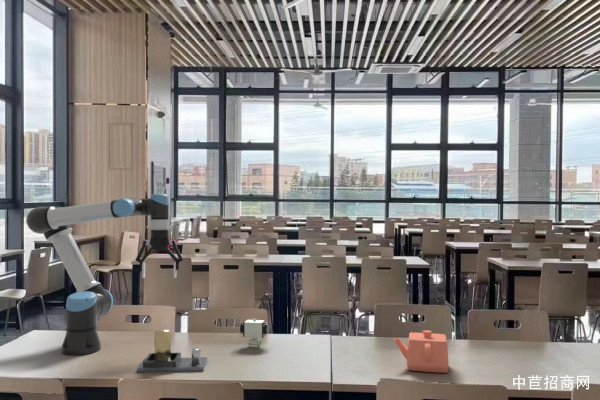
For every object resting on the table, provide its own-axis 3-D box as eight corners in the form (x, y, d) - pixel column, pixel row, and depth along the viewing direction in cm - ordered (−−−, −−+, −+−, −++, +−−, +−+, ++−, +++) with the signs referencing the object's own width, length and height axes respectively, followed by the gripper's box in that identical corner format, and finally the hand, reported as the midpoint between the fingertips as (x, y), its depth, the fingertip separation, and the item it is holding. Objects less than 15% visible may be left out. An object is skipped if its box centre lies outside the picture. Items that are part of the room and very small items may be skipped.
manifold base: (136, 372, 195) (137, 354, 195) (144, 362, 207) (144, 345, 207) (203, 371, 197) (203, 353, 197) (207, 361, 209) (207, 344, 209)
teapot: (446, 360, 210) (447, 325, 210) (449, 379, 188) (449, 339, 188) (395, 357, 214) (395, 322, 214) (392, 374, 193) (392, 336, 193)
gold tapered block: (152, 364, 198) (153, 332, 199) (155, 360, 204) (156, 328, 205) (169, 364, 199) (169, 332, 199) (171, 360, 205) (172, 328, 205)
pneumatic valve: (266, 348, 226) (266, 320, 226) (239, 347, 228) (239, 319, 228) (269, 345, 231) (269, 317, 231) (243, 344, 233) (243, 316, 233)
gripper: (189, 228, 240) (189, 276, 240) (132, 228, 238) (132, 276, 238) (187, 229, 232) (186, 278, 232) (128, 229, 231) (128, 278, 231)
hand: (159, 277), depth 235 cm, fingers open, 13 cm apart
